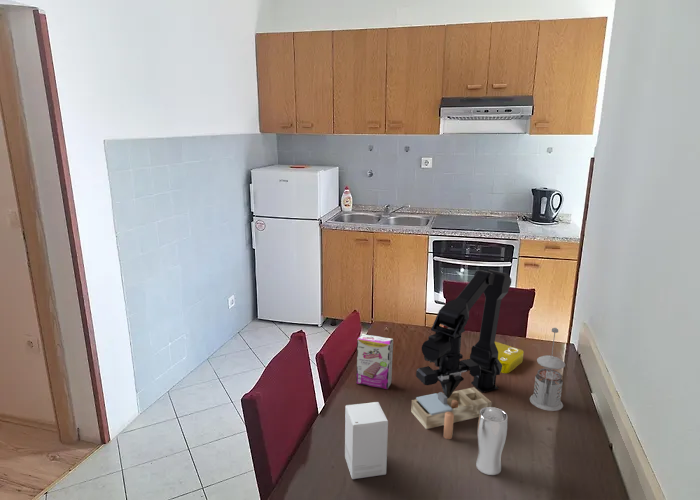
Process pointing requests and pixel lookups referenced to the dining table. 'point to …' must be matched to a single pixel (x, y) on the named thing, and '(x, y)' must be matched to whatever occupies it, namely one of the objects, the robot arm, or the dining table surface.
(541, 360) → the french press
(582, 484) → the dining table surface
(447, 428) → the peg
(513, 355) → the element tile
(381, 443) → the supplement box
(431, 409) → the lid
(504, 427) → the beer glass
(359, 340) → the candy bar box
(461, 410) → the wooden compartment tray
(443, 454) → the dining table surface
